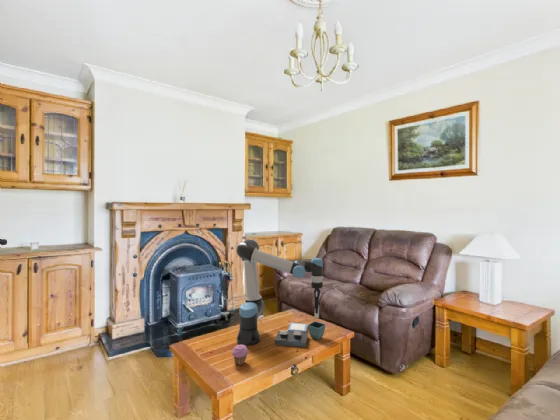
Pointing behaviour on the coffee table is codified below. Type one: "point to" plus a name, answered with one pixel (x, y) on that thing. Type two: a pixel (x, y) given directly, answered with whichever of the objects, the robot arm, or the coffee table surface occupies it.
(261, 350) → the coffee table surface
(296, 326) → the pad
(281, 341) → the breaker panel
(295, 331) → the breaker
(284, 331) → the block
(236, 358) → the cupcake
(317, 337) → the flower pot
